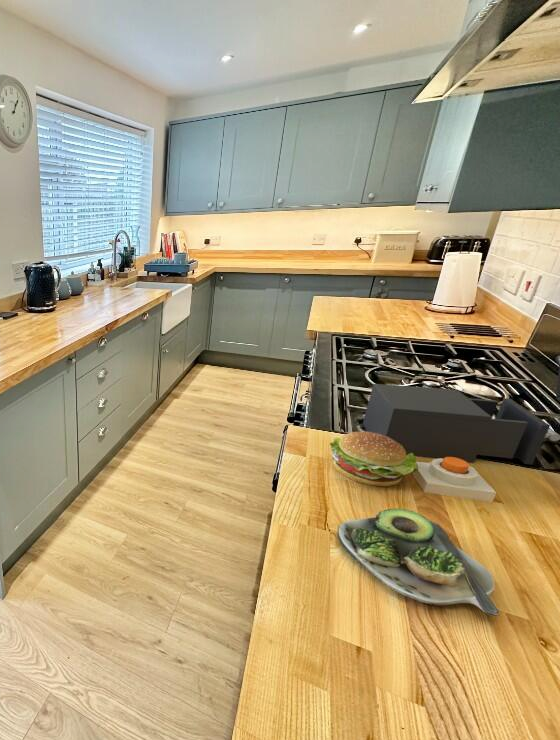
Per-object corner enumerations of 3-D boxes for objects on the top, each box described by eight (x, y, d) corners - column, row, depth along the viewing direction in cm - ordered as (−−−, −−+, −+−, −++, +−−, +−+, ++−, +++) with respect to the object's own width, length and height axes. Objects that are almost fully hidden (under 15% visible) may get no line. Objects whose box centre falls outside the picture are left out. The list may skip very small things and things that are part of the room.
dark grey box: (442, 431, 99) (457, 389, 95) (473, 463, 87) (492, 416, 83) (362, 423, 105) (373, 383, 100) (381, 452, 93) (394, 408, 88)
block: (469, 477, 83) (476, 460, 81) (492, 502, 76) (500, 484, 75) (408, 469, 86) (413, 453, 85) (424, 492, 80) (430, 475, 78)
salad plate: (547, 616, 55) (562, 591, 54) (422, 633, 54) (433, 608, 53) (416, 519, 73) (423, 497, 72) (320, 530, 72) (325, 508, 70)
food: (335, 486, 83) (344, 452, 80) (321, 450, 95) (328, 419, 92) (421, 499, 78) (434, 463, 75) (394, 459, 90) (404, 426, 87)
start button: (460, 465, 81) (463, 458, 80) (470, 476, 78) (473, 468, 77) (437, 463, 82) (440, 455, 81) (445, 473, 79) (448, 465, 78)
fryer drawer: (521, 436, 93) (536, 400, 90) (561, 468, 82) (580, 428, 79) (416, 426, 100) (427, 392, 97) (440, 454, 89) (453, 416, 86)
